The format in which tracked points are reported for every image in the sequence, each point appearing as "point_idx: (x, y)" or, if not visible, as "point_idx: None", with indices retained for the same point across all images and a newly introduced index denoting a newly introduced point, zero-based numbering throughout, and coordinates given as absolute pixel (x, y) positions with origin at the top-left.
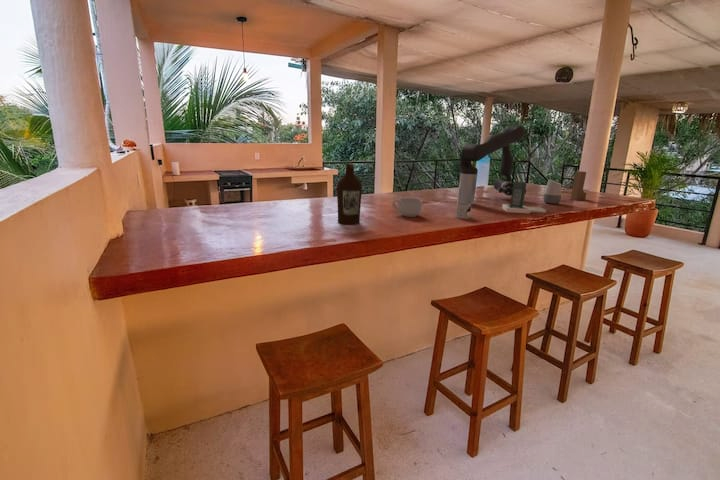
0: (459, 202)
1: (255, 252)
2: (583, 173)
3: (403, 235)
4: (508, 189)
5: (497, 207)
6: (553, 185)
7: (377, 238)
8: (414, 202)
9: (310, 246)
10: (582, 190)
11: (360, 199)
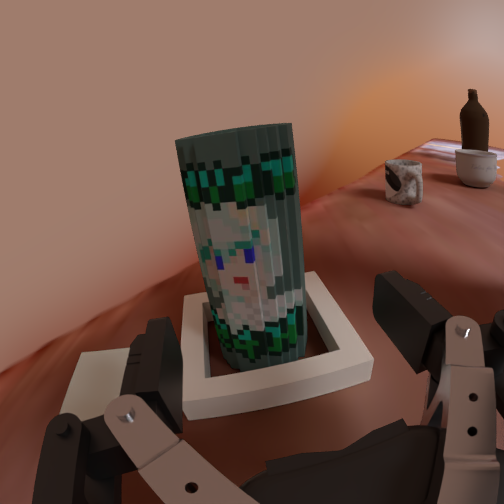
0: None
1: (430, 144)
2: None
3: (395, 158)
4: (421, 428)
5: (403, 369)
6: None
7: (405, 154)
8: (485, 164)
9: (421, 147)
10: None
11: (464, 131)
